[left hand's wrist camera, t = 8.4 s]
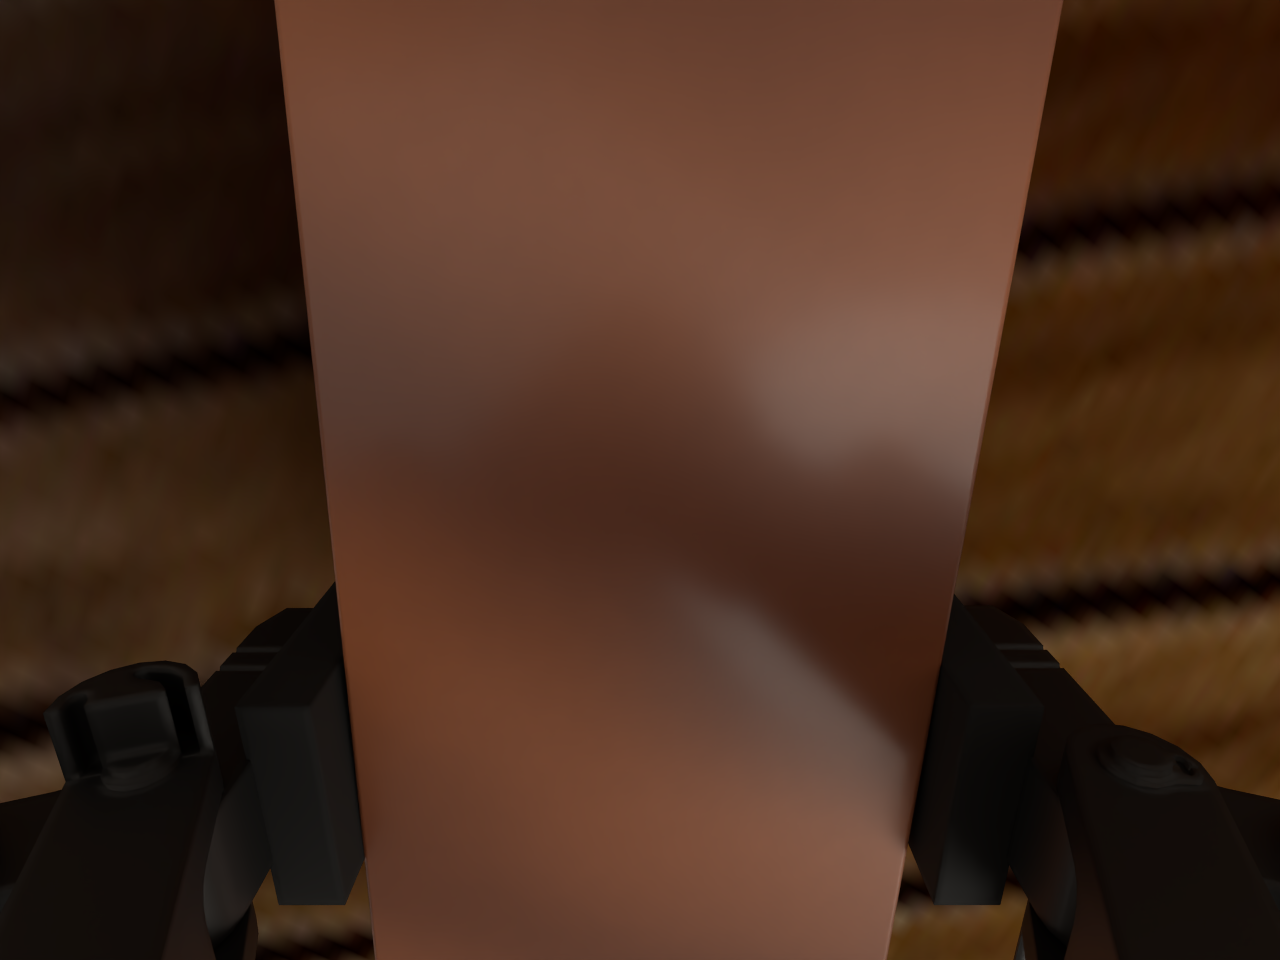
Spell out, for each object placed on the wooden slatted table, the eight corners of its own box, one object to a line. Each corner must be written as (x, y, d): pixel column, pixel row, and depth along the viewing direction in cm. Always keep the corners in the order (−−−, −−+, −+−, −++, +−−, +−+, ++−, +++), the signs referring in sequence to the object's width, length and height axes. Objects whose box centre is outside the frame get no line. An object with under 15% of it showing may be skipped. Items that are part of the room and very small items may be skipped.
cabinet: (470, -157, 13) (184, -819, 5) (851, -142, 13) (1209, -767, 5) (496, 685, 18) (382, 1052, 10) (766, 692, 18) (870, 1062, 10)
